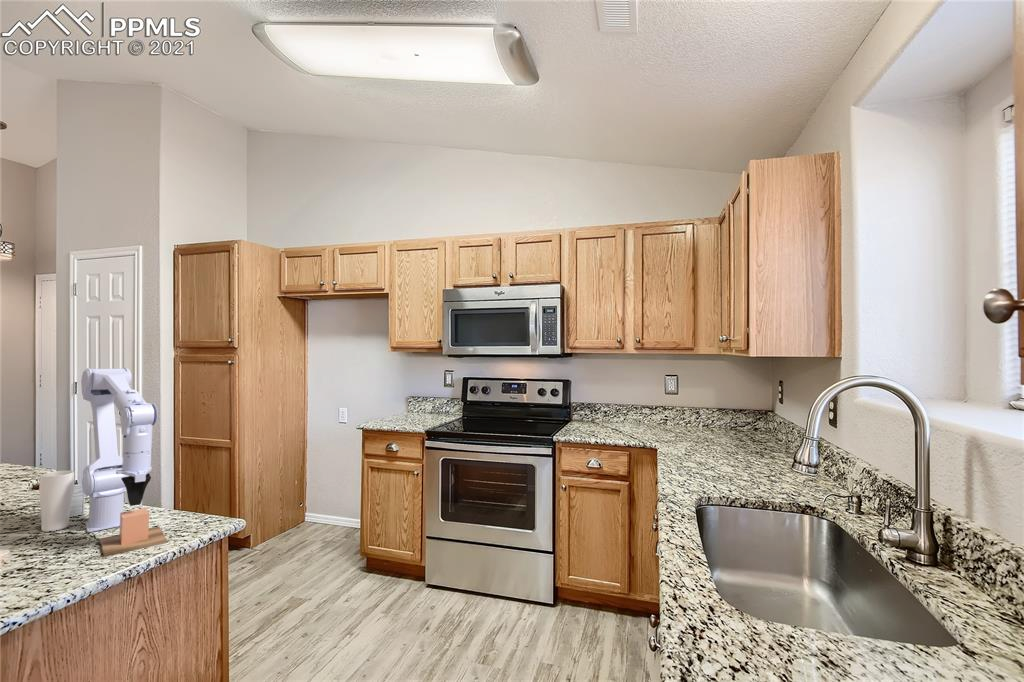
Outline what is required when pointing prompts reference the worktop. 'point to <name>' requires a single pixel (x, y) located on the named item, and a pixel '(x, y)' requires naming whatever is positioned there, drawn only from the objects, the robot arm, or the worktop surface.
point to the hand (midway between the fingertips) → (135, 504)
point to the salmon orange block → (134, 526)
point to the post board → (114, 546)
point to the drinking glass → (56, 499)
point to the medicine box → (77, 501)
